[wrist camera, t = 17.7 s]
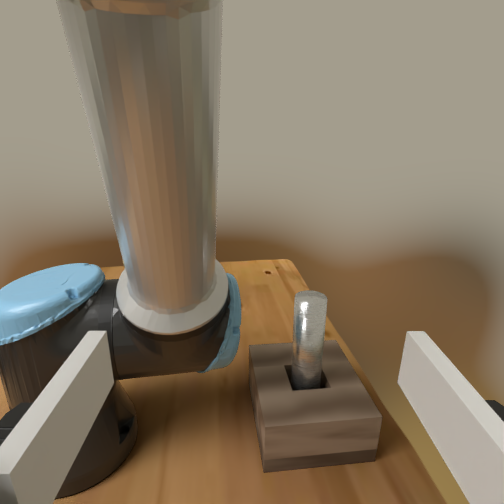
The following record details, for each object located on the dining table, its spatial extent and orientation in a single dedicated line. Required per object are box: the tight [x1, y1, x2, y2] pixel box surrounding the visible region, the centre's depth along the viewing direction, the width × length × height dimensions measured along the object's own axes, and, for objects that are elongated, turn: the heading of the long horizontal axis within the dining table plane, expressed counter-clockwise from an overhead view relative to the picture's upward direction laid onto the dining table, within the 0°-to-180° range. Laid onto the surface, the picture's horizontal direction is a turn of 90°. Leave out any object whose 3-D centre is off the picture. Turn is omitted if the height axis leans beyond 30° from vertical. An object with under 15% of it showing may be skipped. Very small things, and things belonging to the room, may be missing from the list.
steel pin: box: [291, 291, 327, 391], centre depth 47 cm, size 4×4×17 cm
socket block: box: [249, 340, 382, 473], centre depth 49 cm, size 16×14×7 cm
